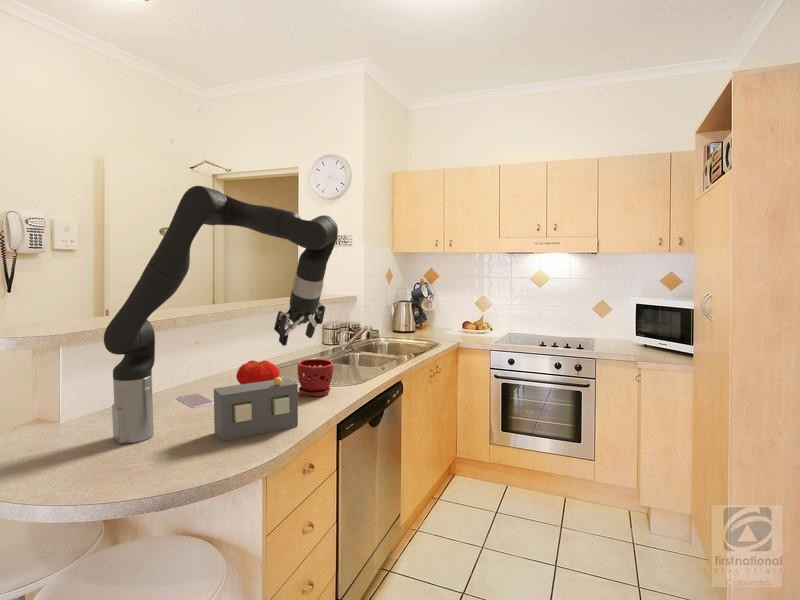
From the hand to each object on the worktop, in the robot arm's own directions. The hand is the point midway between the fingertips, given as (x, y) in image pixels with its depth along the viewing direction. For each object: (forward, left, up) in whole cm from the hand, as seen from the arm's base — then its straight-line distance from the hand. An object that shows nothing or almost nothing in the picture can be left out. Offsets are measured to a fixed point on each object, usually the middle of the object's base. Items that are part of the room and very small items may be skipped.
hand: (295, 340), depth 126 cm
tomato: (+18, +55, -28) cm, 64 cm away
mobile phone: (-7, +53, -28) cm, 61 cm away
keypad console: (-5, +14, -28) cm, 31 cm away
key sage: (0, +9, -22) cm, 24 cm away
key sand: (-11, +11, -22) cm, 27 cm away
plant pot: (+29, +32, -28) cm, 51 cm away
